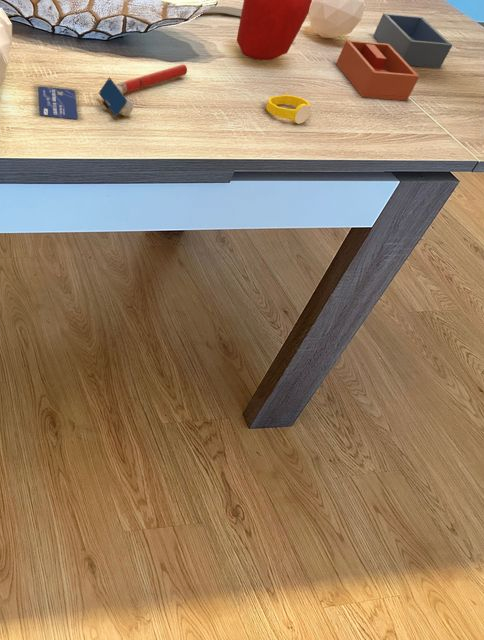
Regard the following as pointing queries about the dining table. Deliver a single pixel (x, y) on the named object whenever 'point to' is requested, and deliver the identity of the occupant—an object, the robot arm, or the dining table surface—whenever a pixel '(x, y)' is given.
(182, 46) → the dining table surface
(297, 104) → the watch
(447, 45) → the blue bin
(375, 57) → the red disc on stick
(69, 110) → the credit card
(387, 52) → the red bin
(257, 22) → the red rounded piece
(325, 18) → the decorative ball
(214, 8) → the machete
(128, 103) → the ultrasonic sensor
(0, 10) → the bowl
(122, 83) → the flare
